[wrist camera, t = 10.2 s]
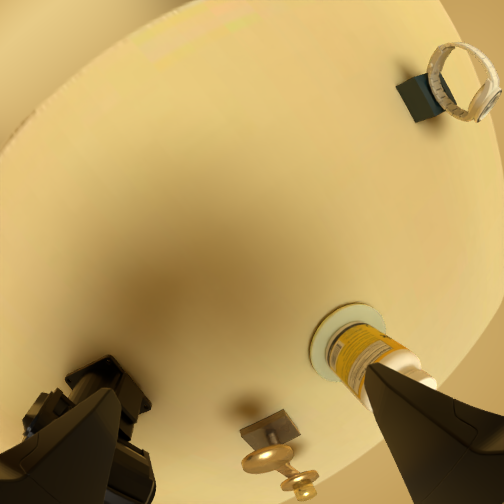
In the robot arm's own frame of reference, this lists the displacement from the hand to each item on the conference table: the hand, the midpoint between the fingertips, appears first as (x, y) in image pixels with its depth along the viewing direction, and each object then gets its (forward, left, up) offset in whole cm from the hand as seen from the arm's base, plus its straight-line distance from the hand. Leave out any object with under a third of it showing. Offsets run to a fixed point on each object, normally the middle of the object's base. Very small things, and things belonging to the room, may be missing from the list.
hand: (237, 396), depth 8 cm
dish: (+8, -11, -13) cm, 19 cm away
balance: (-3, -16, -13) cm, 21 cm away
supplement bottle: (+8, -11, -12) cm, 18 cm away
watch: (+28, +7, -14) cm, 32 cm away
